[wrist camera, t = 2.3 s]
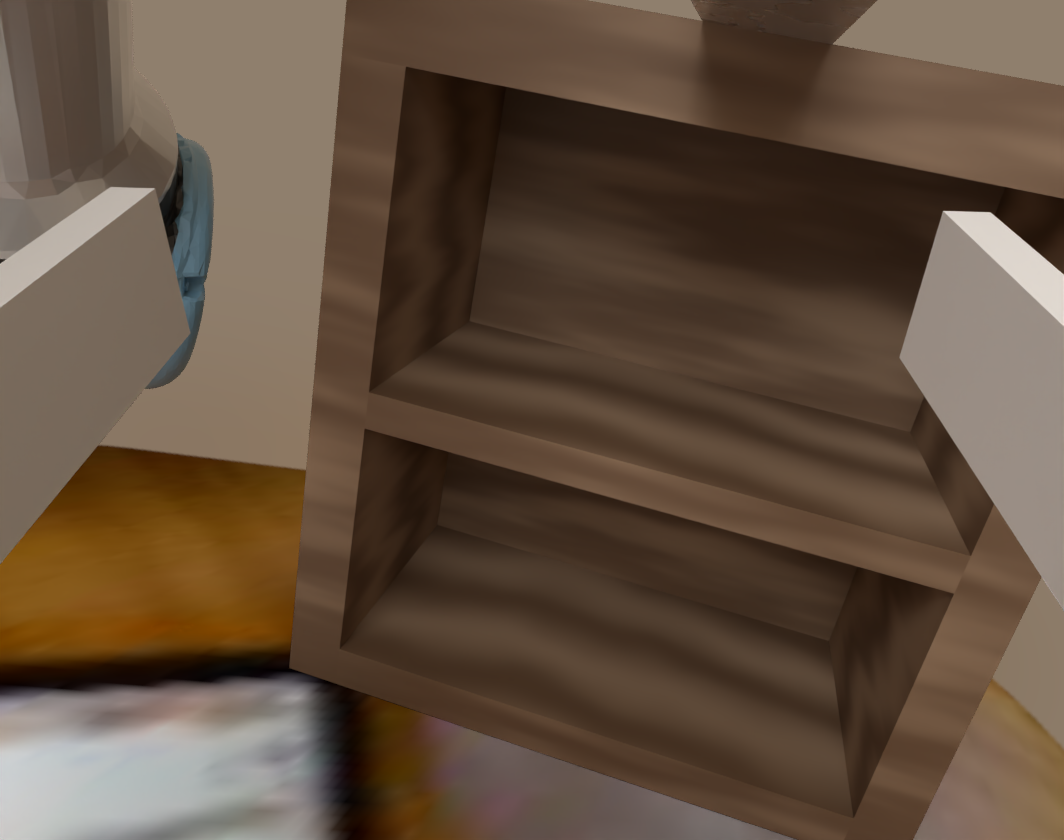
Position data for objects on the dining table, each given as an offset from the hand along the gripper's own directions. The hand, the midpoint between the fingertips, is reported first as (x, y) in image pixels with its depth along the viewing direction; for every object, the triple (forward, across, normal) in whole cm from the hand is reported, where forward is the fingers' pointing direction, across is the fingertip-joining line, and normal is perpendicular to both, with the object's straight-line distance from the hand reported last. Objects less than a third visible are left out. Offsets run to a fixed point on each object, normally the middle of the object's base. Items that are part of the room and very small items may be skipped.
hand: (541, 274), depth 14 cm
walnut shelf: (+16, +3, -29) cm, 33 cm away
